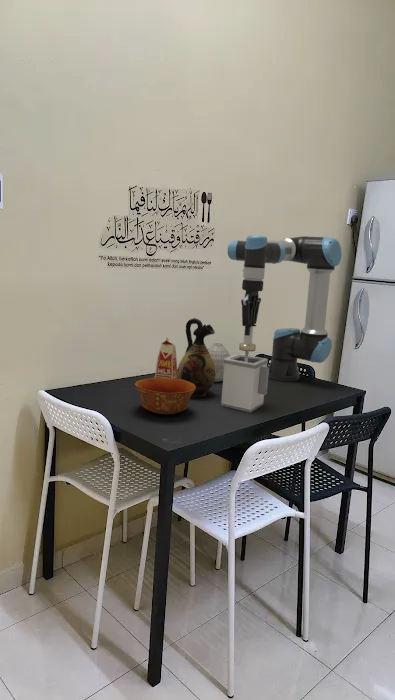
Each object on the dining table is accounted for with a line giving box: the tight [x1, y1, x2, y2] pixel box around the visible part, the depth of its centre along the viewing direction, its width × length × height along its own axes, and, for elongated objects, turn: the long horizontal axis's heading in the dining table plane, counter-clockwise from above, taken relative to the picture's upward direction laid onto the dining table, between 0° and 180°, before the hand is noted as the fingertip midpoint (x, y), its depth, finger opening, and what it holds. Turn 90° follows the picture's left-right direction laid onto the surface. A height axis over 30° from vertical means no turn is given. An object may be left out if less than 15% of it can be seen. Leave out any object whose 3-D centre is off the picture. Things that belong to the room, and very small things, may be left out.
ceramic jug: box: [177, 317, 216, 398], centre depth 204 cm, size 17×15×30 cm
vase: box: [207, 341, 231, 383], centre depth 228 cm, size 13×13×17 cm
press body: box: [220, 353, 269, 413], centre depth 193 cm, size 12×15×18 cm
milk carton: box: [153, 337, 178, 379], centre depth 218 cm, size 9×9×20 cm
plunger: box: [238, 342, 257, 362], centre depth 193 cm, size 9×9×22 cm
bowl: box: [134, 377, 196, 415], centre depth 182 cm, size 21×21×10 cm
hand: (247, 343), depth 191 cm, fingers closed
